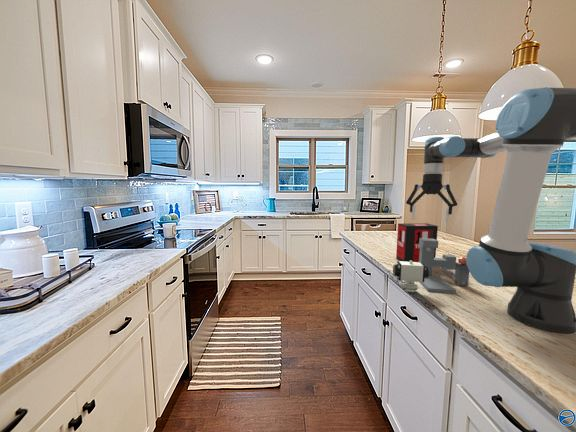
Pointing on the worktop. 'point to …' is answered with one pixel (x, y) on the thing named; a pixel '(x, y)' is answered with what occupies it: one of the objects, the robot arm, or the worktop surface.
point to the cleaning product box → (413, 240)
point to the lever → (460, 272)
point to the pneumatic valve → (410, 274)
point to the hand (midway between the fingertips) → (429, 220)
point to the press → (429, 261)
